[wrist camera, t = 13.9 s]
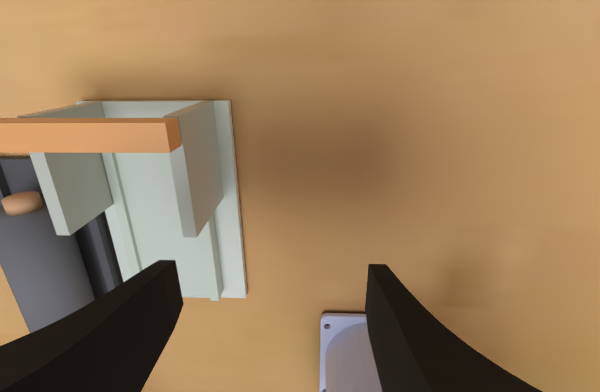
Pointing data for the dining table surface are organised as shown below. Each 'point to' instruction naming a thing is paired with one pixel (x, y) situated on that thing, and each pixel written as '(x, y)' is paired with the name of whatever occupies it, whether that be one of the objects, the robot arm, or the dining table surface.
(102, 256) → the dark grey roller cradle
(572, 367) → the dining table surface
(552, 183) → the dining table surface
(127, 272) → the white roller cradle
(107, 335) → the robot arm
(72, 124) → the long tan wooden plank
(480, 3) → the dining table surface
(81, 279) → the grey roller spool
